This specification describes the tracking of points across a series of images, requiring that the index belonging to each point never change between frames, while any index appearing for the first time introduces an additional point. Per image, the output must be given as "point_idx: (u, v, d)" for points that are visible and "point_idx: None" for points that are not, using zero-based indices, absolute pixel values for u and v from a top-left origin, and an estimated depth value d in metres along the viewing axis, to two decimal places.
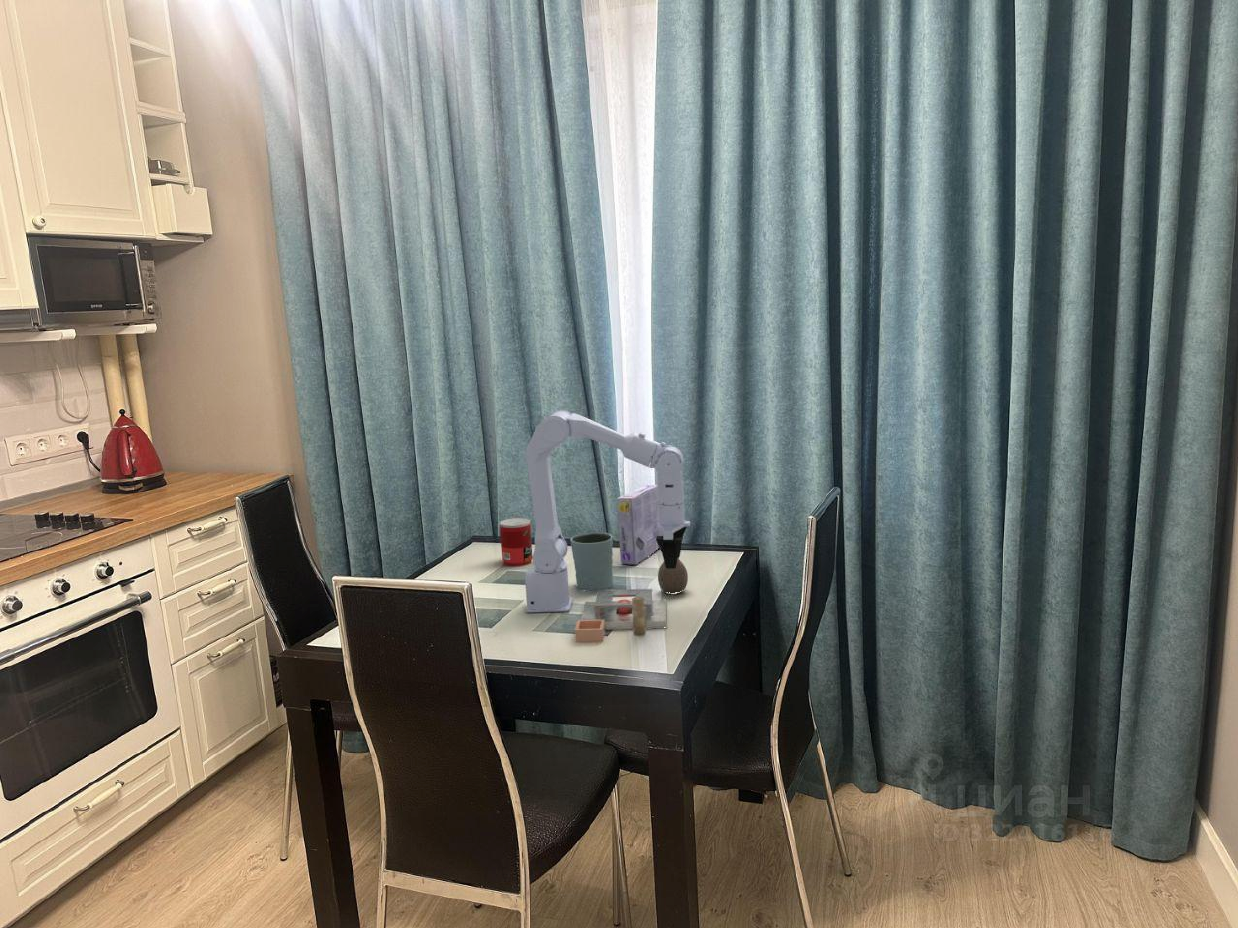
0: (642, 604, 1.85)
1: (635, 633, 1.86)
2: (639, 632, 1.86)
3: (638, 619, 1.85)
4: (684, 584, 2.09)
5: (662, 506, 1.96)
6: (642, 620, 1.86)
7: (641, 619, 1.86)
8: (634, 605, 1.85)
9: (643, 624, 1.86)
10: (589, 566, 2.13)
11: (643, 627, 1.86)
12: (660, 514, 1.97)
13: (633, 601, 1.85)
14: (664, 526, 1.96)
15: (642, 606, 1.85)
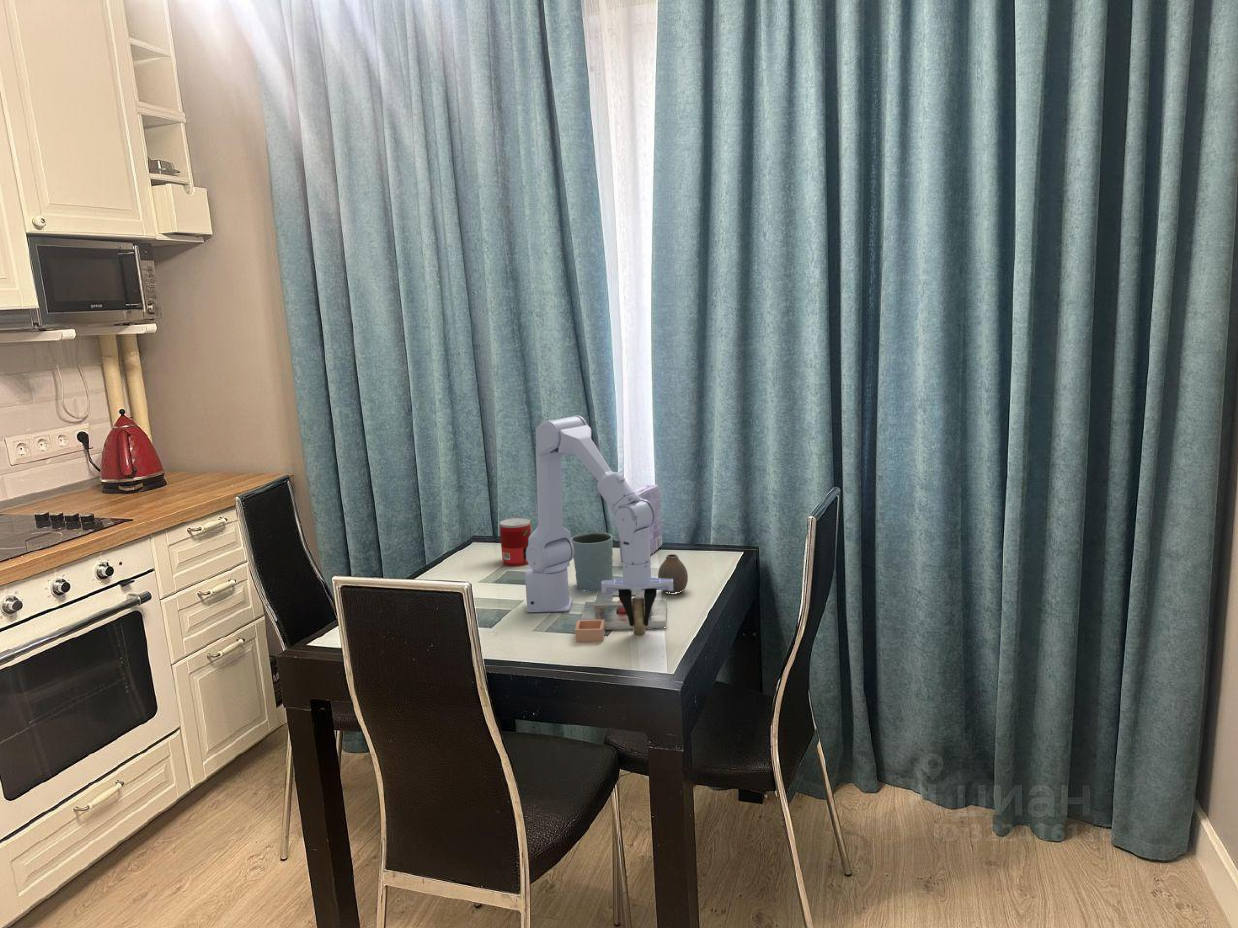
0: (642, 604, 1.85)
1: (635, 633, 1.86)
2: (639, 632, 1.86)
3: (638, 619, 1.85)
4: (684, 584, 2.09)
5: None
6: (642, 620, 1.86)
7: (641, 619, 1.86)
8: (634, 605, 1.85)
9: (643, 624, 1.86)
10: (589, 566, 2.13)
11: (643, 627, 1.86)
12: None
13: (633, 601, 1.85)
14: None
15: (642, 606, 1.85)
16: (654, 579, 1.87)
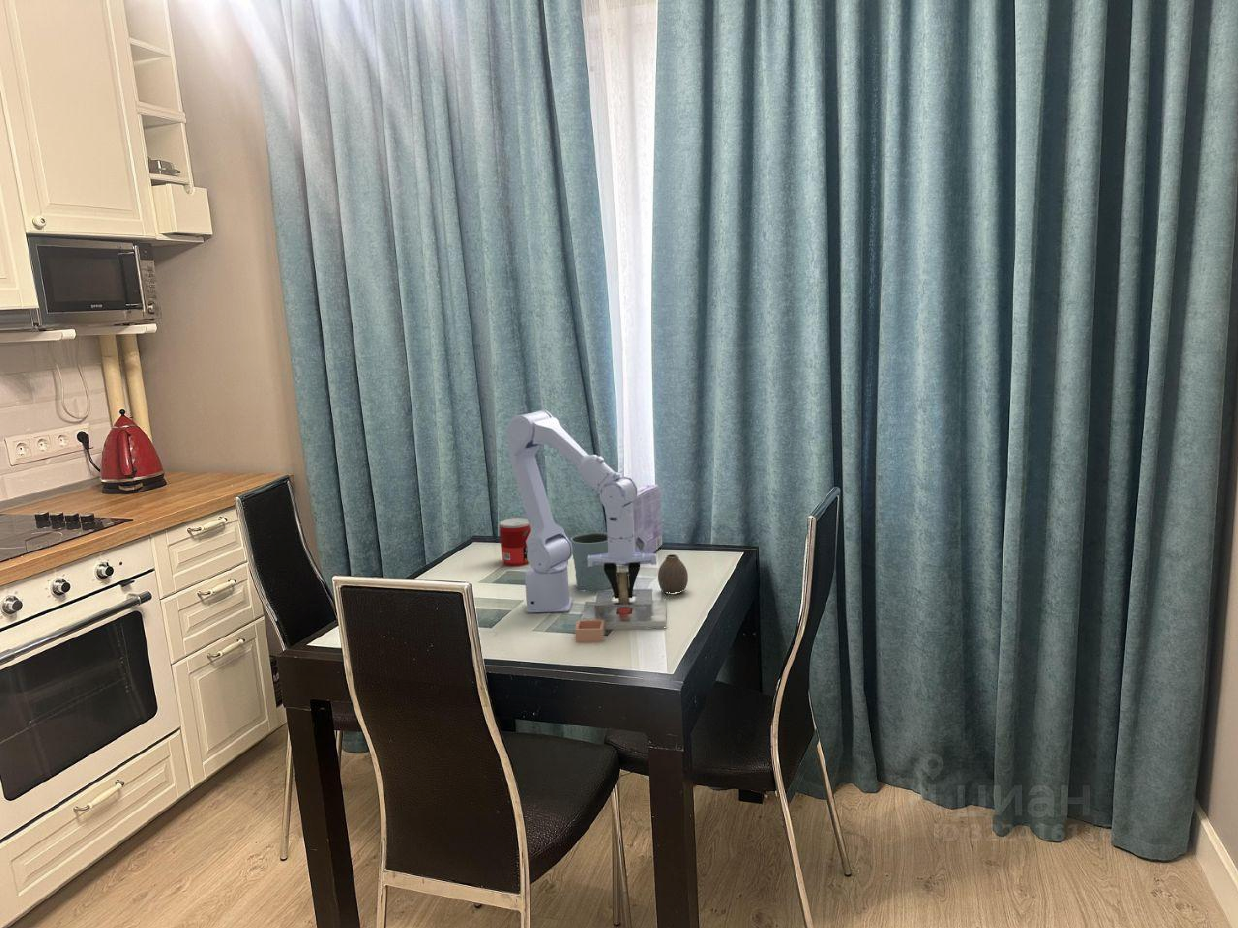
0: (626, 578, 1.94)
1: None
2: None
3: (623, 592, 1.94)
4: (684, 584, 2.09)
5: None
6: (627, 593, 1.94)
7: (625, 592, 1.94)
8: (619, 579, 1.94)
9: (627, 597, 1.95)
10: (589, 566, 2.13)
11: (628, 600, 1.95)
12: None
13: (618, 575, 1.94)
14: None
15: (626, 580, 1.94)
16: (638, 554, 1.95)
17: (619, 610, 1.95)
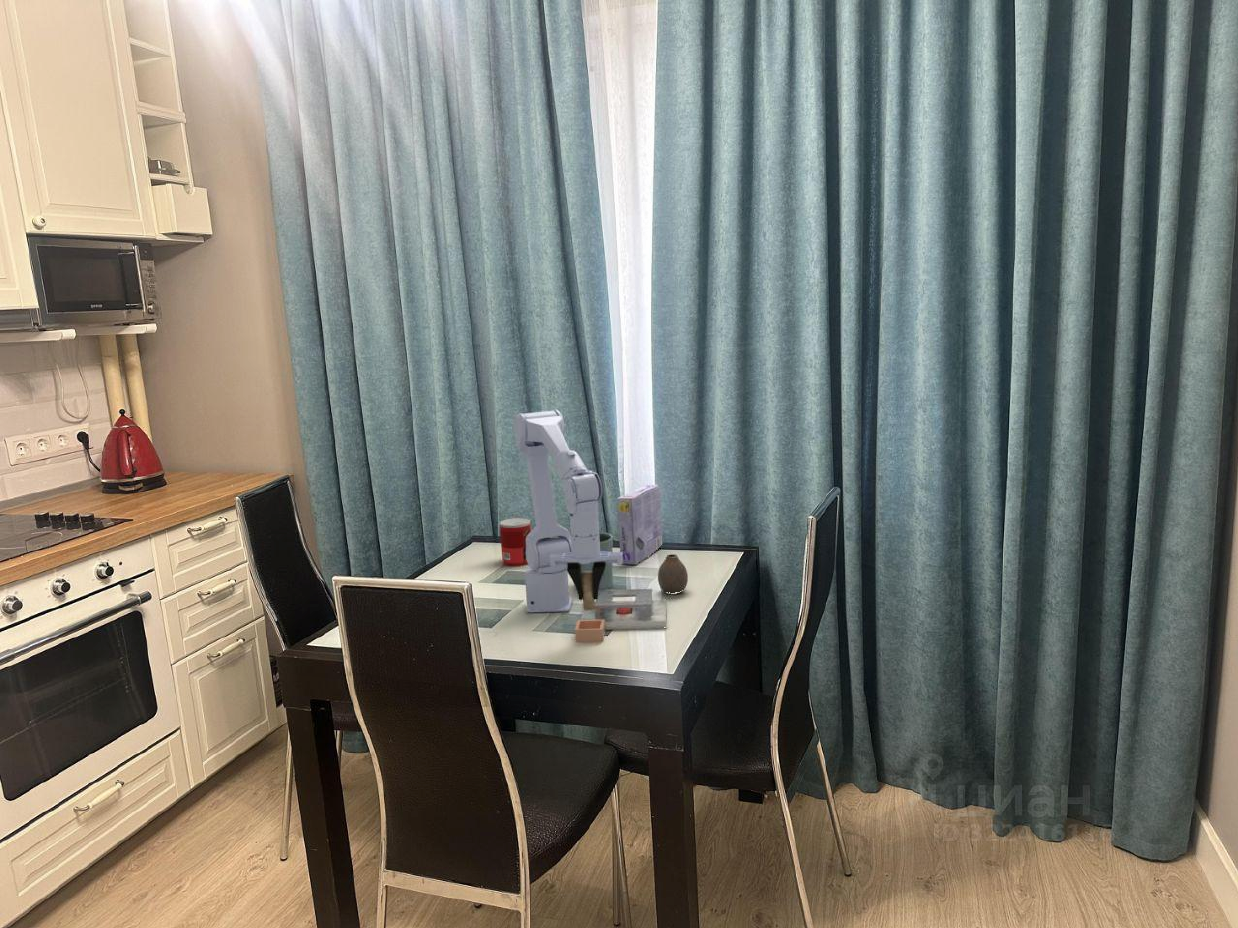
0: (591, 578, 1.84)
1: (584, 607, 1.85)
2: (588, 606, 1.84)
3: (587, 594, 1.84)
4: (684, 584, 2.09)
5: None
6: (591, 594, 1.84)
7: (590, 593, 1.84)
8: (583, 579, 1.84)
9: (592, 598, 1.85)
10: (589, 566, 2.13)
11: (592, 601, 1.85)
12: None
13: (582, 575, 1.84)
14: None
15: (591, 580, 1.84)
16: (603, 553, 1.85)
17: (619, 610, 1.95)
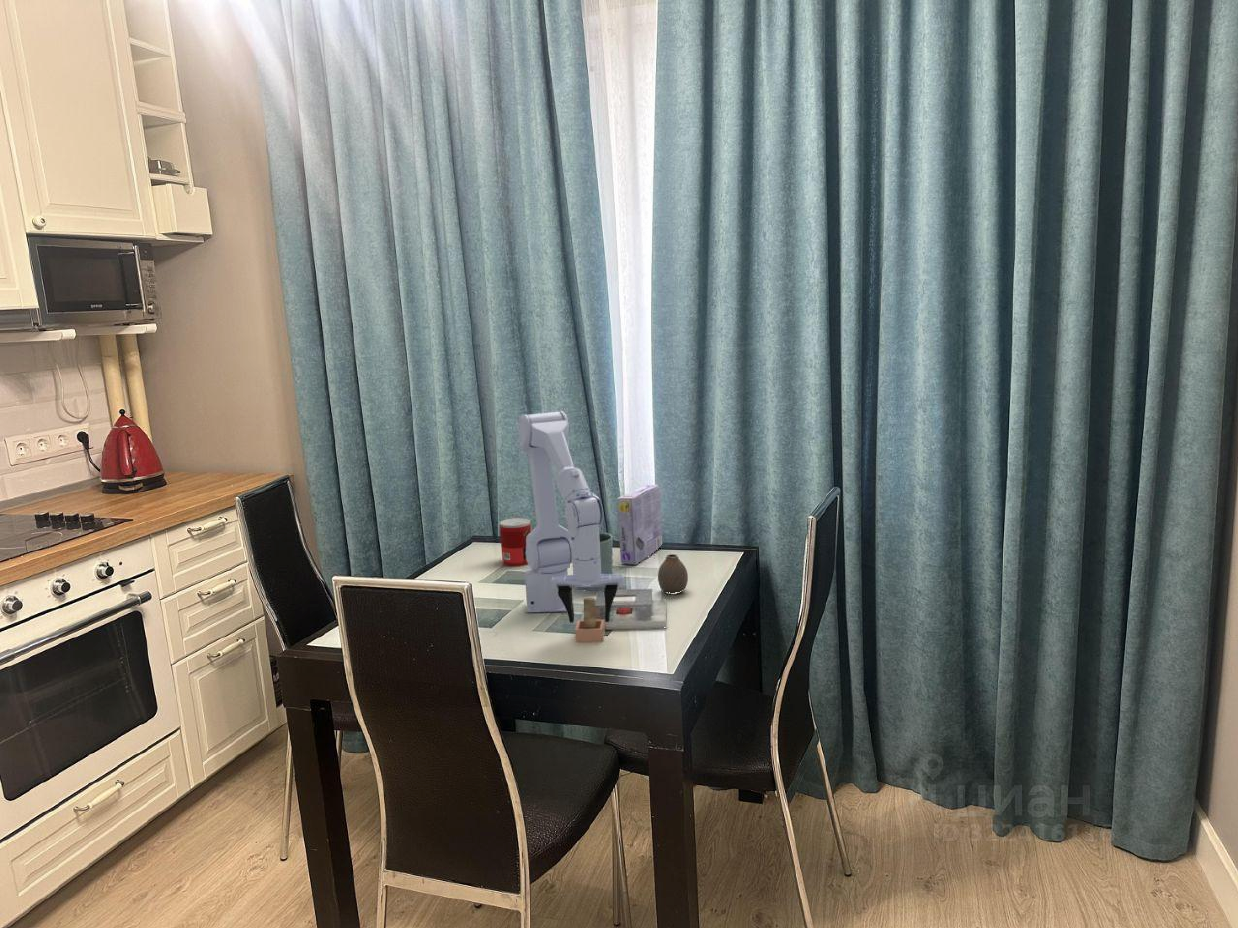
0: (593, 605, 1.85)
1: None
2: None
3: (589, 620, 1.85)
4: (684, 584, 2.09)
5: None
6: (593, 621, 1.85)
7: (591, 620, 1.85)
8: (585, 606, 1.85)
9: (594, 625, 1.86)
10: None
11: (594, 628, 1.86)
12: None
13: (584, 602, 1.85)
14: None
15: (593, 607, 1.85)
16: (605, 575, 1.86)
17: (619, 610, 1.95)
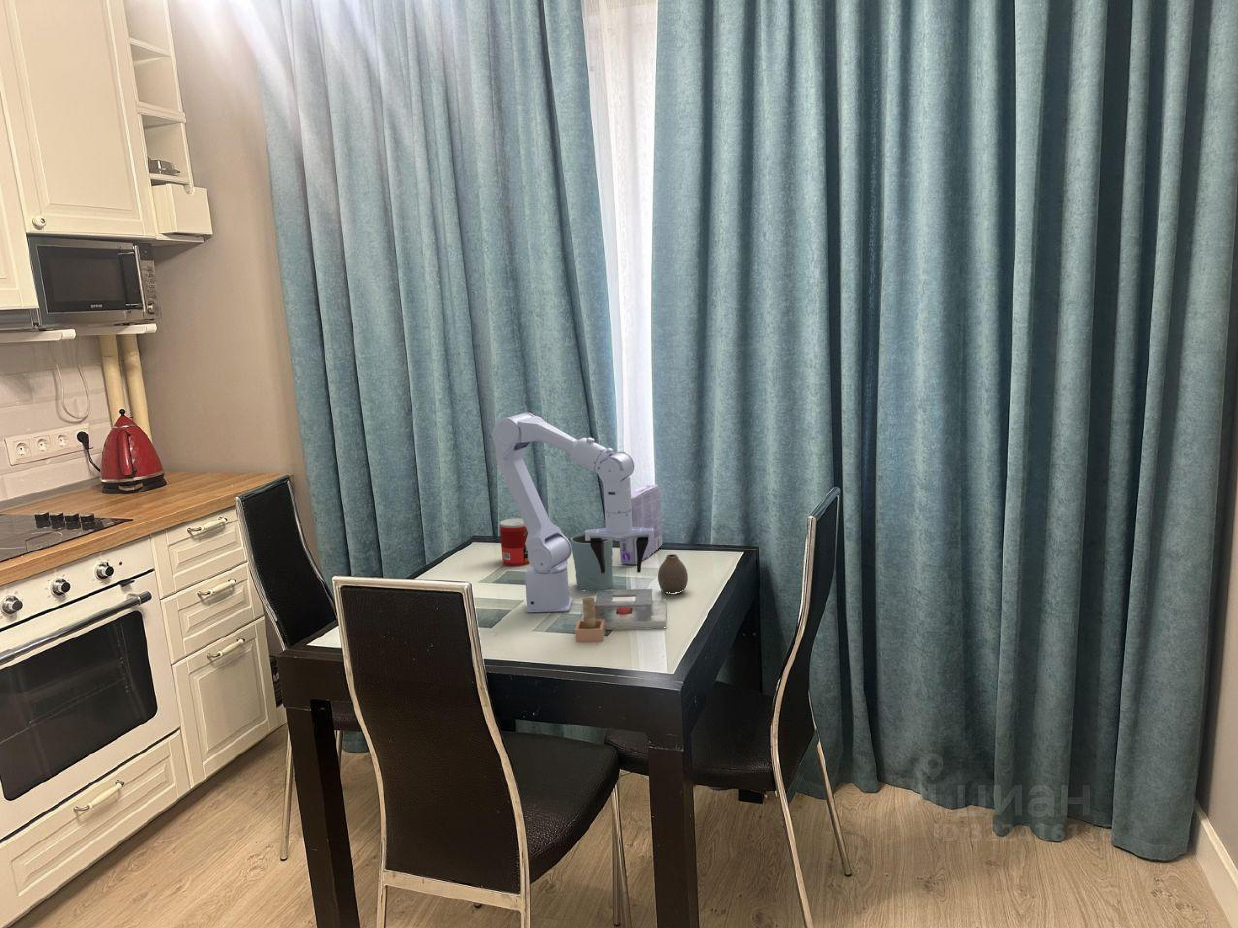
0: (592, 605, 1.85)
1: None
2: None
3: (588, 620, 1.85)
4: (684, 584, 2.09)
5: None
6: (592, 621, 1.85)
7: (591, 620, 1.85)
8: (584, 605, 1.85)
9: (593, 625, 1.86)
10: (589, 566, 2.13)
11: (593, 628, 1.86)
12: None
13: (583, 601, 1.85)
14: None
15: (592, 607, 1.85)
16: (635, 529, 1.96)
17: (619, 610, 1.95)
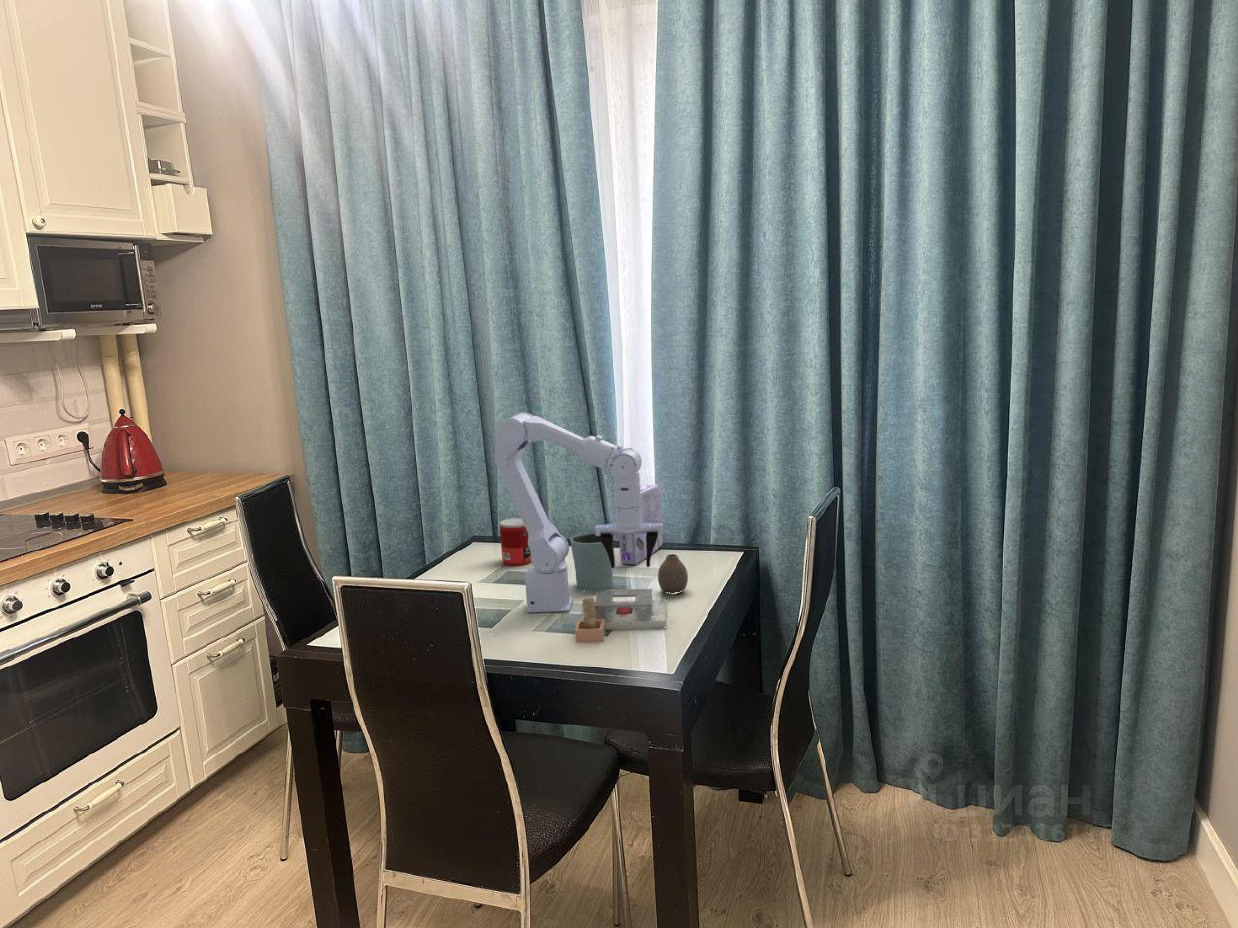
0: (592, 605, 1.85)
1: None
2: None
3: (588, 620, 1.85)
4: (684, 584, 2.09)
5: None
6: (592, 621, 1.85)
7: (591, 620, 1.85)
8: (584, 606, 1.85)
9: (593, 625, 1.86)
10: (589, 566, 2.13)
11: (593, 628, 1.86)
12: None
13: (583, 602, 1.85)
14: (616, 525, 1.99)
15: (592, 607, 1.85)
16: (645, 524, 1.99)
17: (619, 610, 1.95)
